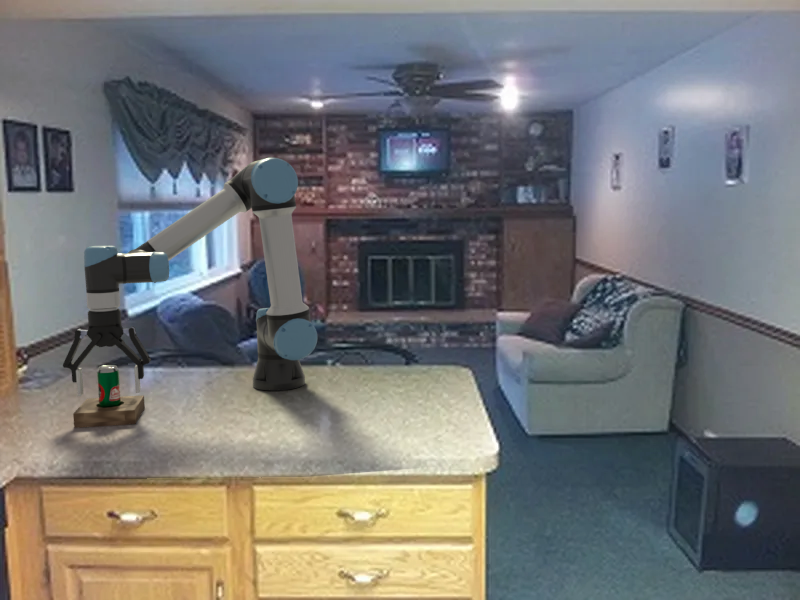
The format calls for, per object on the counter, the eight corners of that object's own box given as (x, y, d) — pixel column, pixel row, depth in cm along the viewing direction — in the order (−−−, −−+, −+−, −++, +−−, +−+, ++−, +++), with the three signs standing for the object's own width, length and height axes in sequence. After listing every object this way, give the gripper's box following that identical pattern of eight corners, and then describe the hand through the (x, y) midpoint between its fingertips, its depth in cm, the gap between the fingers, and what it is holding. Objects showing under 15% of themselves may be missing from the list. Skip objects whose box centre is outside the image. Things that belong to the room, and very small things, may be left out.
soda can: (114, 417, 180) (111, 369, 179) (95, 416, 181) (92, 368, 180) (125, 411, 185) (122, 364, 184) (107, 410, 186) (104, 364, 185)
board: (144, 408, 191) (144, 395, 191) (135, 424, 178) (134, 410, 177) (88, 411, 189) (87, 398, 188) (74, 427, 175) (73, 413, 175)
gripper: (159, 305, 186) (163, 386, 188) (54, 308, 181) (60, 392, 184) (154, 309, 178) (159, 394, 181) (45, 313, 174) (51, 400, 177)
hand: (109, 393), depth 183 cm, fingers open, 13 cm apart
